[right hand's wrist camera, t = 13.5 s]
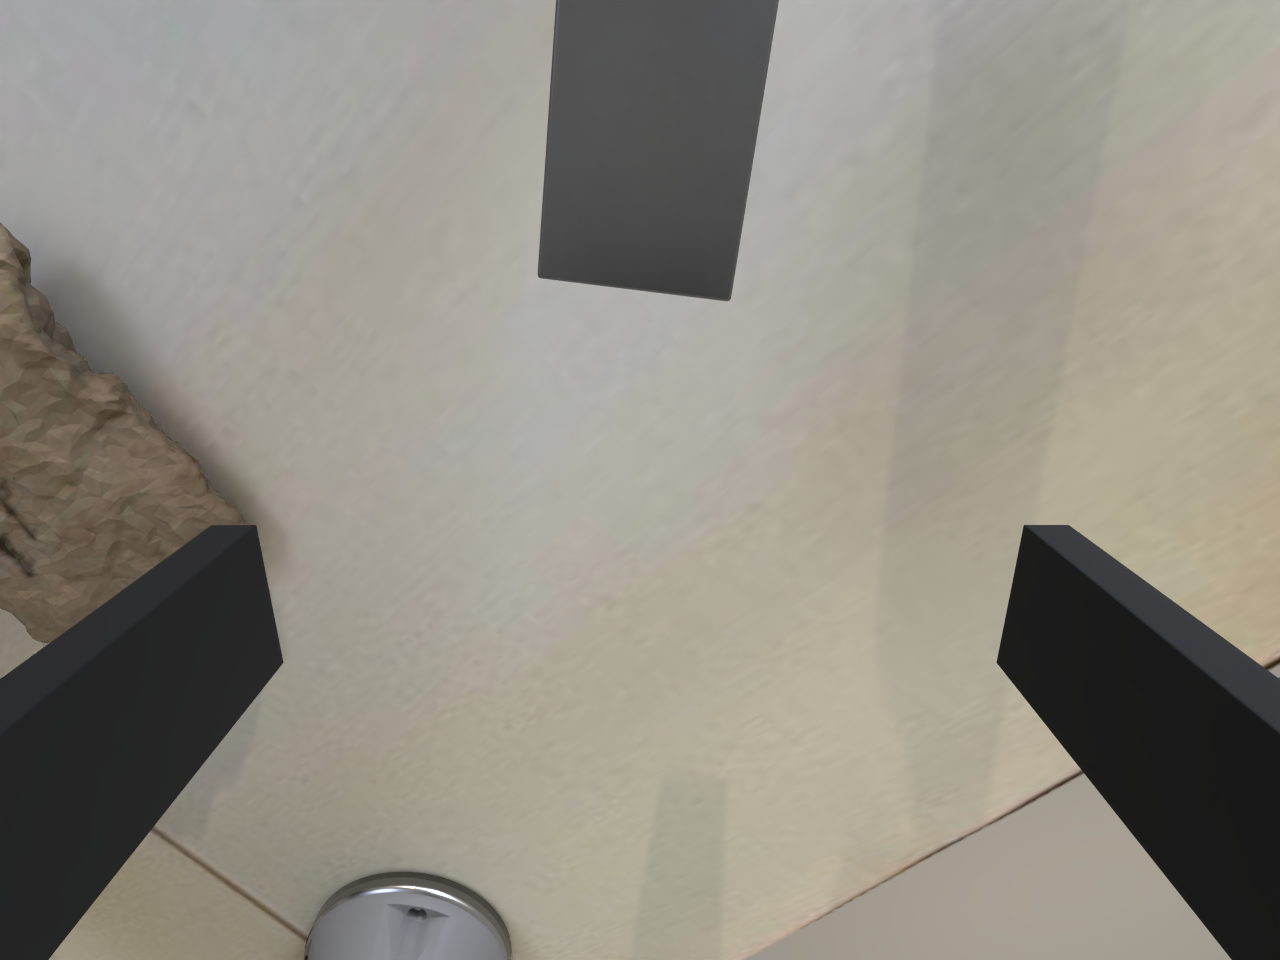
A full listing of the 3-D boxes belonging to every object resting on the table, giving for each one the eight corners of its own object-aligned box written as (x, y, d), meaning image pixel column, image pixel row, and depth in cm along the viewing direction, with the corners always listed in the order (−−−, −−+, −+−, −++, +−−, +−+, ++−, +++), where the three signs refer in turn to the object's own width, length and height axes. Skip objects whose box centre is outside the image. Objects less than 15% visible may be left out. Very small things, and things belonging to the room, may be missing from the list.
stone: (-243, 353, 38) (-352, 383, 32) (15, 209, 38) (-49, 214, 33) (82, 630, 47) (40, 688, 42) (283, 510, 48) (267, 552, 43)
